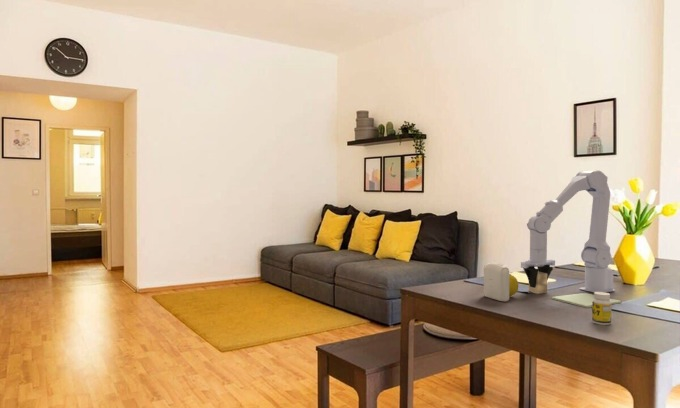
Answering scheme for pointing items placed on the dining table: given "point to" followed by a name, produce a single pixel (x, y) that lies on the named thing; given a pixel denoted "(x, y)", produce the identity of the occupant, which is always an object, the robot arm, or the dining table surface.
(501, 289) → the photo printer
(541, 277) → the birch block
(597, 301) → the supplement bottle
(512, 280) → the lemon
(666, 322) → the dining table surface
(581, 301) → the felt mat
